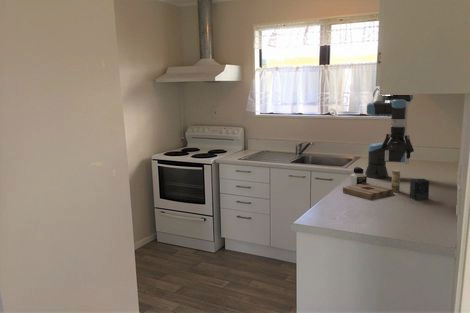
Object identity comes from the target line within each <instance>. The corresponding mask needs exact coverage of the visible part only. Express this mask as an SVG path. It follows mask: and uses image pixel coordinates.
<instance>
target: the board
mask: <svg viewBox="0 0 470 313" xmlns="http://www.w3.org/2000/svg"><path fill="white" fill-rule="evenodd" d="M391 188H392V187H391ZM391 188H390V187H386V186H381V185H377V184H373V183H368V182H367V183H362V184H357V185H352V186H351V185H347V186H343V187H342V193H344V192H345V193H344V194H347V193H348V195H351V194H352V195H353V196H355V197H359V198H363V199H366V200H374V199H378V198H382V197H387V196H391V195H394V194H395V192H394V189H391Z"/></svg>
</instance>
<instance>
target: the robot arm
mask: <svg viewBox="0 0 470 313" xmlns="http://www.w3.org/2000/svg"><path fill="white" fill-rule="evenodd" d="M372 97H373V98H372V101H371V102H368V103H366V104H367V105H366V114H367V115H368V116H391V118H390V120H391V121H390V123H391V124H390V126H391V127H390V133H386V134H385V139H384V140H383V142H376V143H375V142H374V143H371V144H369V146H368V150H367V152H368V155H367V156H368V158H367V167H366V169H365V171H364V175H365V176H367V178H371V179H385V178H388V177H389V173H388V169H387V166H386V165H387V163H404V165H409V164H410V159H411V153H414V152H415V150H414V147H413V145H412V144H413V143H412V142H411V139H410V135H407V134H408V130H407V129H408V113H409V112H408V111H409V110H408V109H409V108H408V107H409V105H410V104H411V102H412V101H413V100H414V98H413V97H414V96H413V95H393V96H382V95H379V89H378V87H376V88H375V89H374V91H373V93H372ZM386 101H388V102H386ZM389 101H391V102H389Z"/></svg>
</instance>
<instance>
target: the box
mask: <svg viewBox="0 0 470 313" xmlns="http://www.w3.org/2000/svg"><path fill="white" fill-rule="evenodd" d="M429 190H430V180H428V179H425V178H413V179H412V178H411V179H410V184H409V198H410V199H412V200H414V201H418V200H419V201H420V200H421V201H422V200H423V201H424V200H429V196H430V194H429V192H430V191H429Z"/></svg>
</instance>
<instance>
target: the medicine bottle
mask: <svg viewBox="0 0 470 313" xmlns="http://www.w3.org/2000/svg"><path fill="white" fill-rule="evenodd" d="M367 180H368V177H367V176H365V168H363V167H360V166H355V167H354V168H353V174H350V186H352V185H357V184H362V183H368V182H367Z"/></svg>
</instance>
